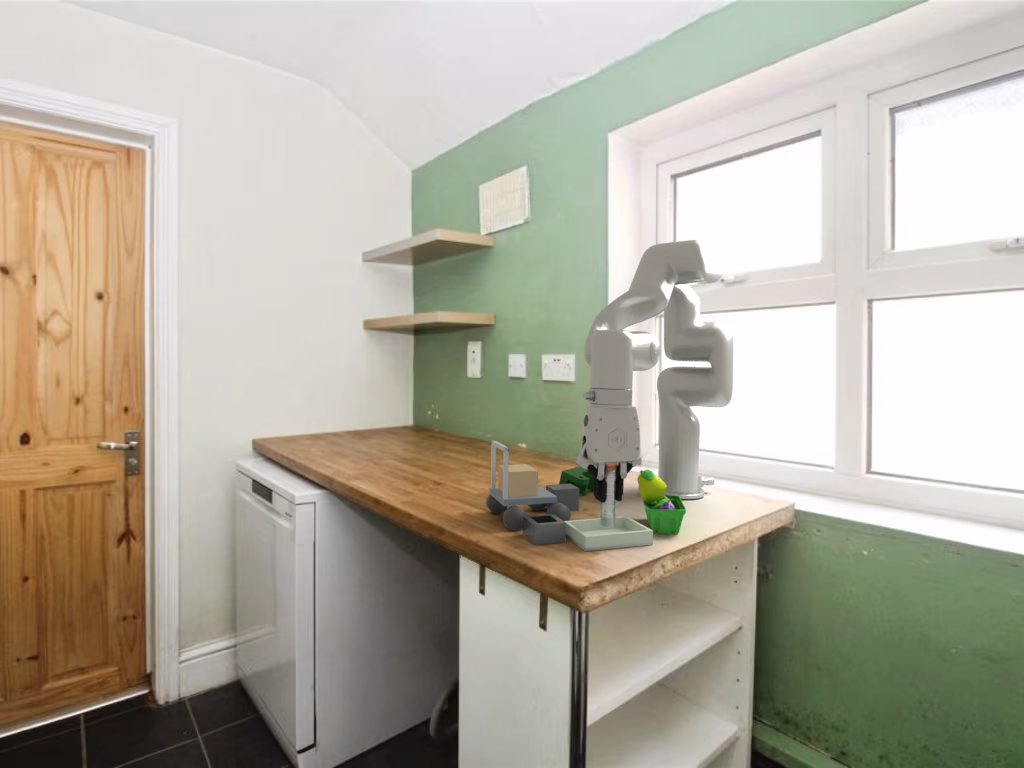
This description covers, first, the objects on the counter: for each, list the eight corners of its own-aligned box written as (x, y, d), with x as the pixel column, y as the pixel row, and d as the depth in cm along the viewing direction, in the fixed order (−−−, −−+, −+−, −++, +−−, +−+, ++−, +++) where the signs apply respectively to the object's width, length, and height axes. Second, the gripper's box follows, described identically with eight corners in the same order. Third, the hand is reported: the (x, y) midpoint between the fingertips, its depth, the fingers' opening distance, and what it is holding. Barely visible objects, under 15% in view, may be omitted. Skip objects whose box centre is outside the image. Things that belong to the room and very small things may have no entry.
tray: (625, 528, 103) (626, 516, 103) (652, 544, 94) (653, 530, 94) (563, 534, 99) (563, 521, 99) (585, 551, 90) (585, 536, 90)
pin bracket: (552, 531, 100) (552, 513, 100) (565, 542, 94) (565, 522, 94) (522, 534, 98) (522, 515, 98) (533, 545, 92) (534, 525, 92)
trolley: (544, 508, 117) (546, 437, 116) (570, 526, 104) (572, 447, 103) (485, 512, 112) (487, 439, 112) (505, 532, 99) (506, 449, 99)
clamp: (578, 513, 129) (578, 484, 124) (558, 503, 132) (557, 474, 128) (604, 487, 136) (605, 459, 132) (584, 478, 140) (585, 450, 135)
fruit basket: (686, 537, 99) (688, 477, 98) (637, 533, 100) (639, 474, 100) (678, 519, 110) (680, 465, 109) (634, 516, 111) (636, 463, 111)
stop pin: (611, 520, 98) (613, 456, 98) (621, 526, 95) (623, 460, 95) (593, 522, 97) (595, 457, 97) (603, 528, 94) (605, 461, 94)
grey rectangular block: (570, 505, 119) (570, 483, 119) (578, 511, 115) (579, 488, 115) (545, 507, 118) (545, 485, 117) (553, 513, 113) (553, 489, 113)
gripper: (578, 400, 89) (576, 508, 90) (661, 400, 94) (658, 502, 95) (561, 397, 96) (558, 497, 97) (638, 397, 102) (635, 492, 102)
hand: (608, 498), depth 96 cm, fingers closed on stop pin, 2 cm apart
